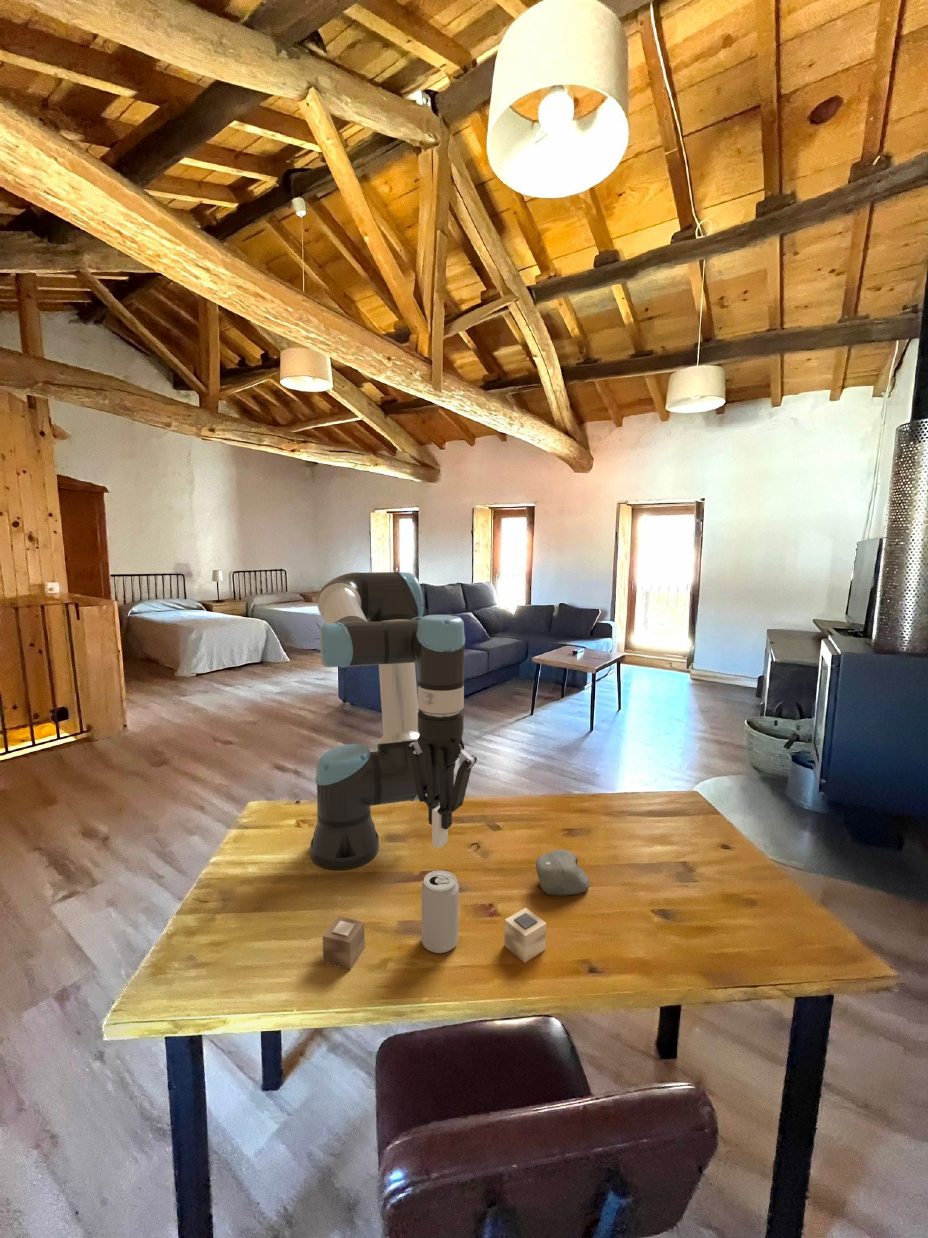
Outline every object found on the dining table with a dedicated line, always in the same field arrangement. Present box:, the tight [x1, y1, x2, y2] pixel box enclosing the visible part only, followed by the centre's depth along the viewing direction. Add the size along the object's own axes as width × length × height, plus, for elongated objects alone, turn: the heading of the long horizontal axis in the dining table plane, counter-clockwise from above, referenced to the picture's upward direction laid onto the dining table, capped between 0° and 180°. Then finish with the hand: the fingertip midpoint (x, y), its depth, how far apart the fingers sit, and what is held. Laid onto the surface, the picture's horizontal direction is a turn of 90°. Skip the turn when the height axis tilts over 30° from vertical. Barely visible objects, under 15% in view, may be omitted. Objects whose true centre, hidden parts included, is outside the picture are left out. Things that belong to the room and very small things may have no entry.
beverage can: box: [420, 869, 460, 954], centre depth 93 cm, size 6×6×12 cm
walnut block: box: [322, 915, 366, 971], centre depth 91 cm, size 5×5×5 cm
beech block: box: [503, 907, 547, 964], centre depth 93 cm, size 5×5×5 cm
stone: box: [535, 849, 591, 896], centre depth 110 cm, size 9×9×10 cm
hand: (440, 843), depth 92 cm, fingers closed
